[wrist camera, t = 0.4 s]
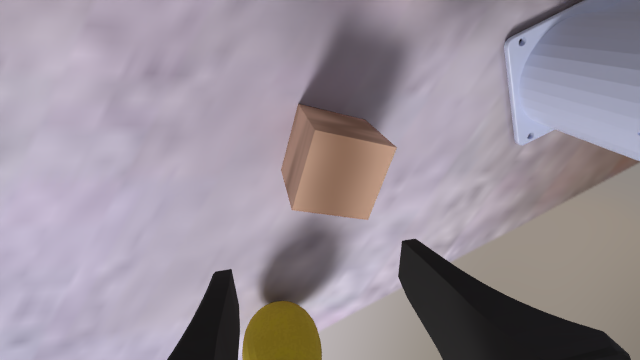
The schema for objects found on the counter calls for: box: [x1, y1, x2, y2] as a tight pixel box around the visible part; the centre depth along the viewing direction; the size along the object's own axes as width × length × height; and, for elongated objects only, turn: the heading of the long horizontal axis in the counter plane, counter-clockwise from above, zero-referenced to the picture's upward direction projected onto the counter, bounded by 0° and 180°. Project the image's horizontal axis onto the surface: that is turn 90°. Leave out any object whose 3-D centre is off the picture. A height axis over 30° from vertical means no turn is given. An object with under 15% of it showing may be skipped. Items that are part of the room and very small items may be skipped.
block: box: [281, 104, 397, 220], centre depth 19 cm, size 4×4×5 cm
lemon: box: [242, 301, 322, 360], centre depth 23 cm, size 6×6×8 cm
